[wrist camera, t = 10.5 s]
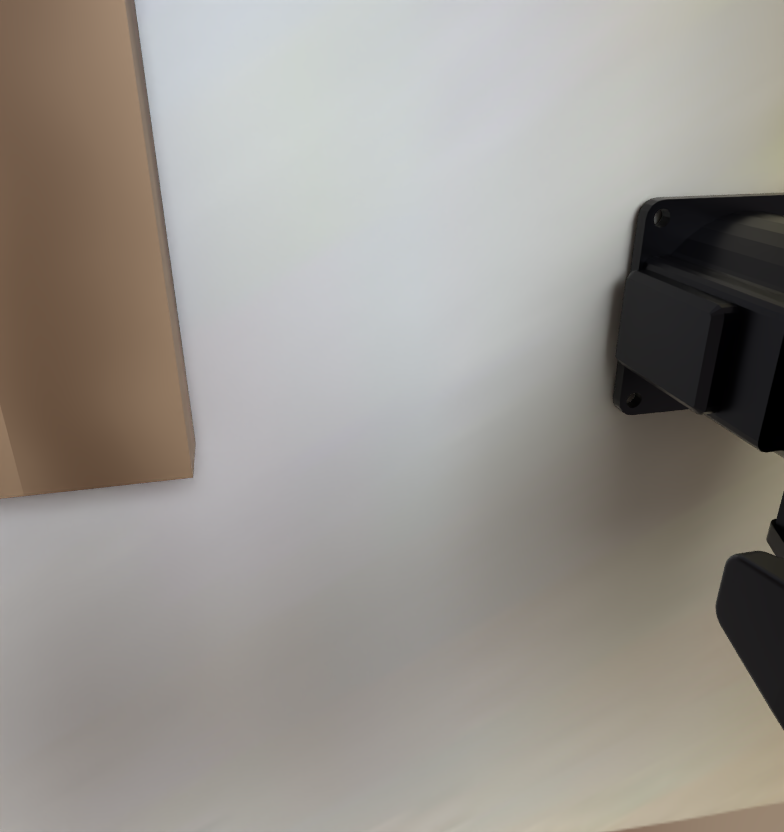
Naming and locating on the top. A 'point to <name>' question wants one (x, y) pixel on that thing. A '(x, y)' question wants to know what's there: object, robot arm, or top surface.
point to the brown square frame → (83, 259)
